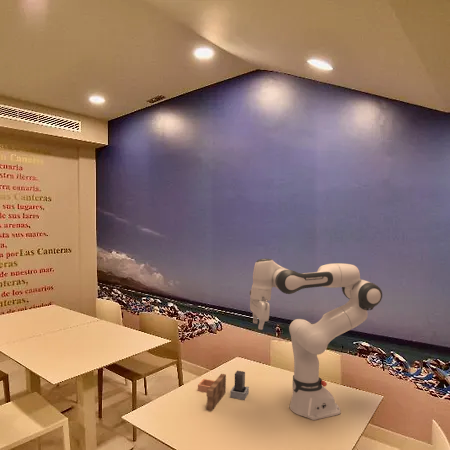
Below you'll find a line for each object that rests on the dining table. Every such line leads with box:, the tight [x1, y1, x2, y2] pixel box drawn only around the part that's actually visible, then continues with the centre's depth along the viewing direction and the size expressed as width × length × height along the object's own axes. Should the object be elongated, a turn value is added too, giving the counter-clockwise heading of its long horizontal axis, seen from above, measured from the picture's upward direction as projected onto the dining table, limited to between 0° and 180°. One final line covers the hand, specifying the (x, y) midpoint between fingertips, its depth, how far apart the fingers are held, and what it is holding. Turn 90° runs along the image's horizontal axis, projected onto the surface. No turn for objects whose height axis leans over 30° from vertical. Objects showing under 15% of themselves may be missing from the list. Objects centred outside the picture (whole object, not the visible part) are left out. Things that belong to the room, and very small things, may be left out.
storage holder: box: [229, 384, 250, 401], centre depth 171 cm, size 7×7×3 cm
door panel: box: [206, 373, 227, 412], centre depth 165 cm, size 18×4×9 cm, turn 160°
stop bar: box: [234, 370, 246, 393], centre depth 171 cm, size 4×4×11 cm
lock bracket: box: [197, 378, 216, 394], centre depth 177 cm, size 7×7×3 cm
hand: (257, 326), depth 155 cm, fingers open, 8 cm apart
